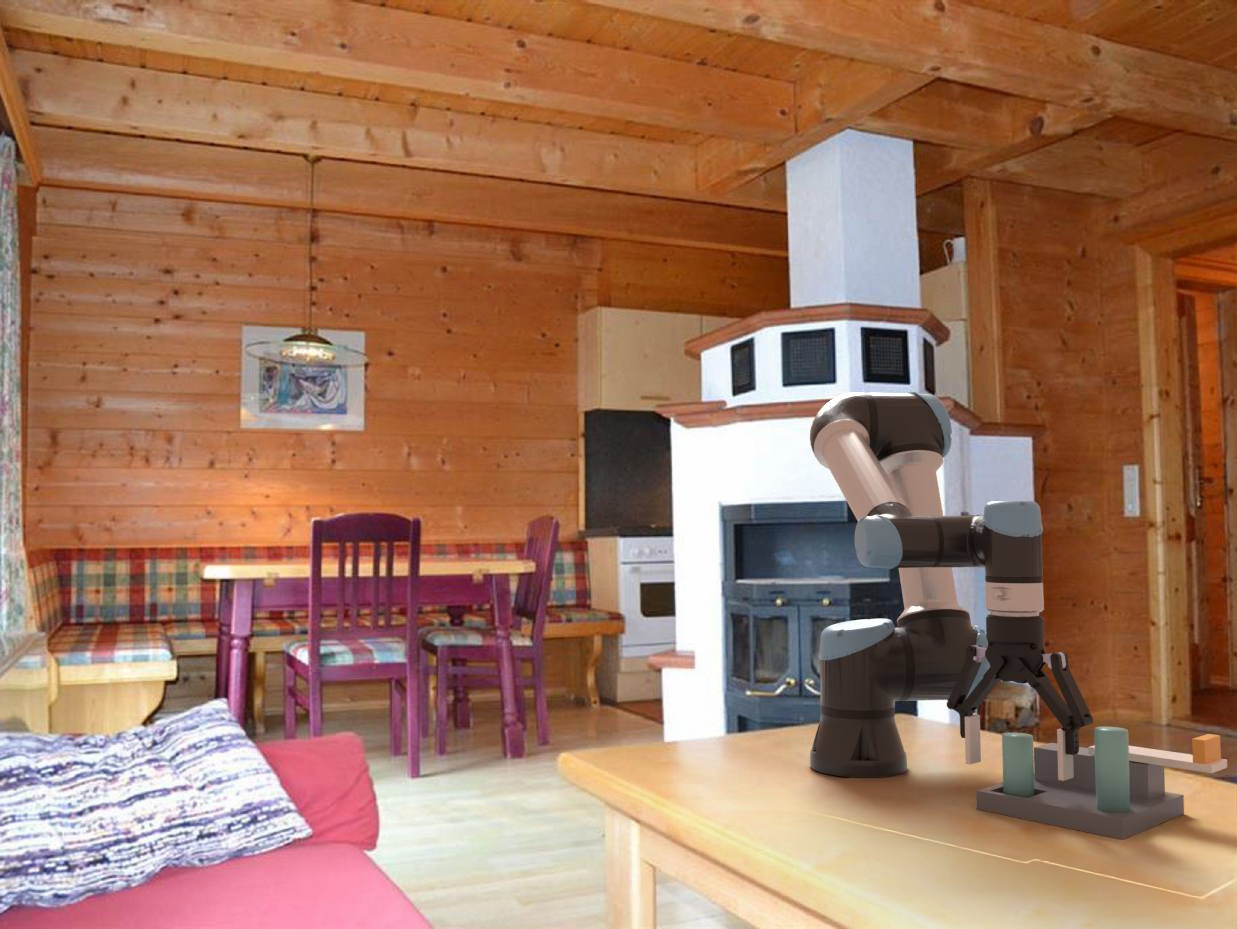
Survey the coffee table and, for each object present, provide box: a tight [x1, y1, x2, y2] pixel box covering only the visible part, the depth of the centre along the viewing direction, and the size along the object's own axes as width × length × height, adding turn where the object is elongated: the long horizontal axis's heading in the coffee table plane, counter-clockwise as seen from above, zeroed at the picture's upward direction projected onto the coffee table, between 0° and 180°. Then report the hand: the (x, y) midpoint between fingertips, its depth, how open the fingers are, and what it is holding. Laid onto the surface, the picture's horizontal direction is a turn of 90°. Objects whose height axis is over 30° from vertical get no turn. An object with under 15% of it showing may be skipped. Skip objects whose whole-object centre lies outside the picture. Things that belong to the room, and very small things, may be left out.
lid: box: [1087, 733, 1228, 774], centre depth 152 cm, size 16×5×4 cm, turn 42°
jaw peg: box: [1001, 732, 1034, 798], centre depth 155 cm, size 4×4×10 cm
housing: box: [975, 726, 1185, 840], centre depth 154 cm, size 20×18×12 cm
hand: (1018, 770), depth 155 cm, fingers open, 13 cm apart
